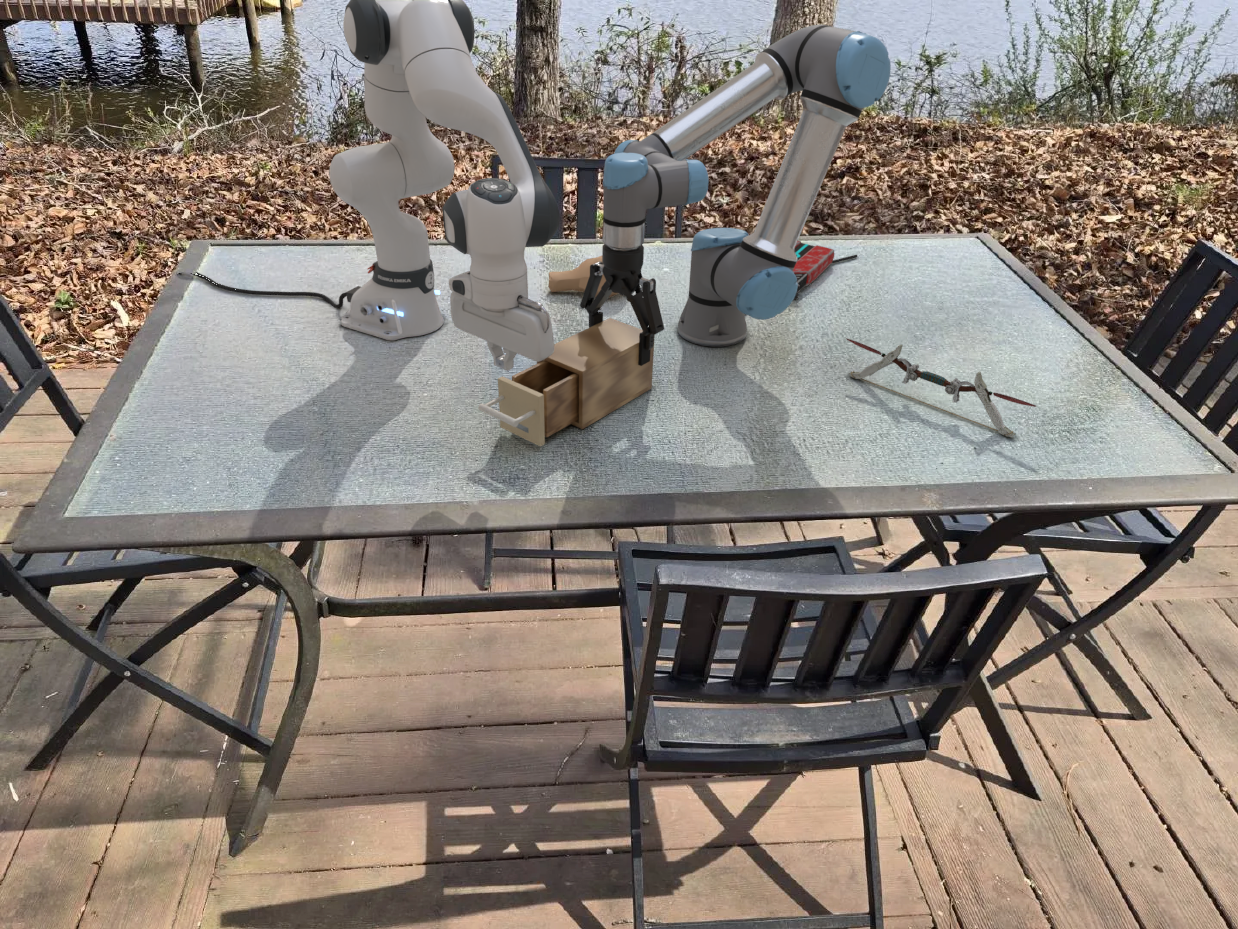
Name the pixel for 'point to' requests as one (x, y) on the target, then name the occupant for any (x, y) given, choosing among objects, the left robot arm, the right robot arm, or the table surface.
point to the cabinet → (604, 368)
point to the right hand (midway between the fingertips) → (620, 353)
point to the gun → (810, 263)
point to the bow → (950, 387)
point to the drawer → (536, 402)
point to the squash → (575, 278)
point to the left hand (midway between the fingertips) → (503, 367)
